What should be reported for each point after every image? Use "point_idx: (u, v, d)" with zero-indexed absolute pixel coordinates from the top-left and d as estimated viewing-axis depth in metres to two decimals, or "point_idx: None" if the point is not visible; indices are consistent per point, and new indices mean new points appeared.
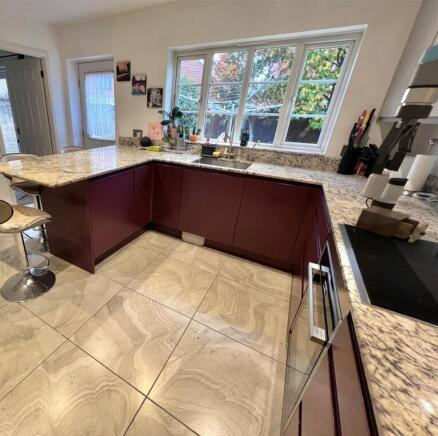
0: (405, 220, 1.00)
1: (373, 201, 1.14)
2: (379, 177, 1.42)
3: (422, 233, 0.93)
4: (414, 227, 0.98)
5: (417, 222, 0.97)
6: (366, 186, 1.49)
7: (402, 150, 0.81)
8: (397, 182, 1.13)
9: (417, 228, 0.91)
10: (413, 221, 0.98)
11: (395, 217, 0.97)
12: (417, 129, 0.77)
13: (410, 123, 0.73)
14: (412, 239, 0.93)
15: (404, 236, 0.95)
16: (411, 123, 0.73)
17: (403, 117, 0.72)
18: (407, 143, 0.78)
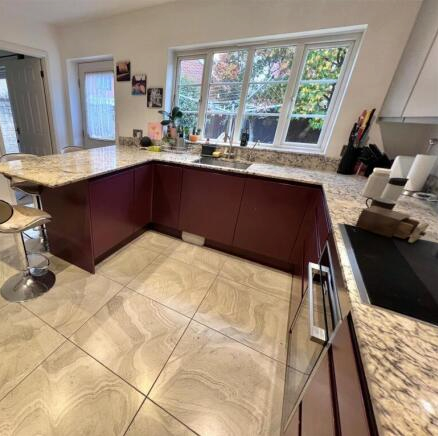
0: (405, 220, 1.00)
1: (373, 201, 1.14)
2: (379, 177, 1.42)
3: (422, 233, 0.93)
4: (414, 227, 0.98)
5: (417, 222, 0.97)
6: (366, 186, 1.49)
7: None
8: (397, 182, 1.13)
9: (417, 228, 0.91)
10: (413, 221, 0.98)
11: (395, 217, 0.97)
12: None
13: None
14: (412, 239, 0.93)
15: (404, 236, 0.95)
16: None
17: None
18: None
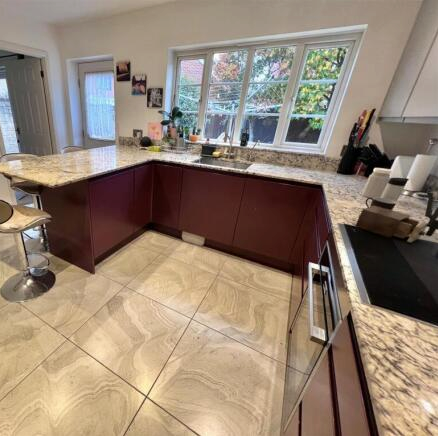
0: (404, 220, 1.00)
1: (373, 201, 1.14)
2: (379, 177, 1.42)
3: (421, 233, 0.93)
4: (413, 227, 0.98)
5: (416, 222, 0.97)
6: (366, 186, 1.49)
7: (436, 217, 0.92)
8: (397, 182, 1.13)
9: (416, 228, 0.91)
10: (412, 221, 0.98)
11: (395, 217, 0.97)
12: None
13: None
14: (411, 239, 0.93)
15: (403, 236, 0.95)
16: None
17: None
18: None
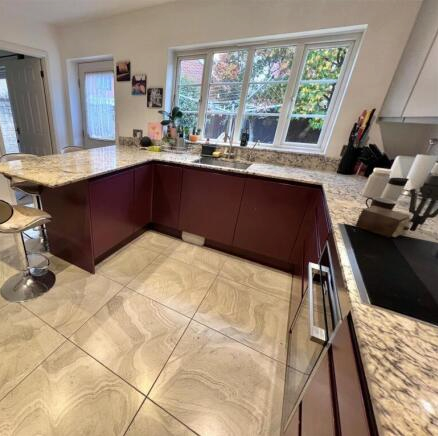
0: None
1: (373, 201, 1.14)
2: (379, 177, 1.42)
3: (405, 228, 0.97)
4: None
5: None
6: (366, 186, 1.49)
7: (419, 213, 0.95)
8: (397, 182, 1.13)
9: (400, 223, 0.95)
10: None
11: (395, 217, 0.97)
12: None
13: None
14: (396, 234, 0.97)
15: None
16: None
17: None
18: (424, 205, 0.94)
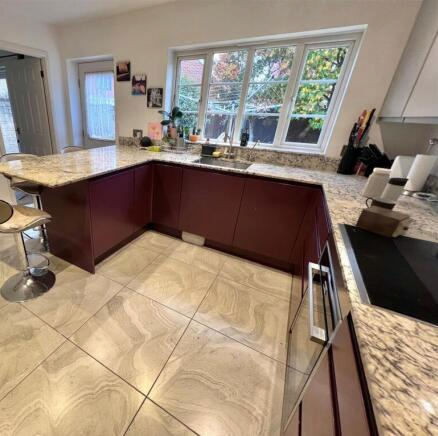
0: None
1: (373, 201, 1.14)
2: (379, 177, 1.42)
3: (405, 228, 0.97)
4: None
5: None
6: (366, 186, 1.49)
7: None
8: (397, 182, 1.13)
9: (400, 223, 0.95)
10: None
11: (395, 217, 0.97)
12: None
13: None
14: (396, 234, 0.97)
15: None
16: None
17: None
18: None
